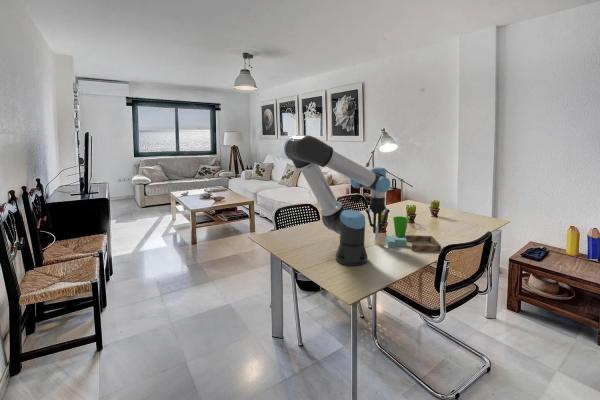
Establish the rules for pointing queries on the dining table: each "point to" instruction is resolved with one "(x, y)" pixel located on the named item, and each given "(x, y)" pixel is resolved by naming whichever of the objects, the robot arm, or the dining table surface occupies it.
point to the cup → (400, 225)
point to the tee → (395, 241)
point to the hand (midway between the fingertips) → (376, 238)
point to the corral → (416, 247)
